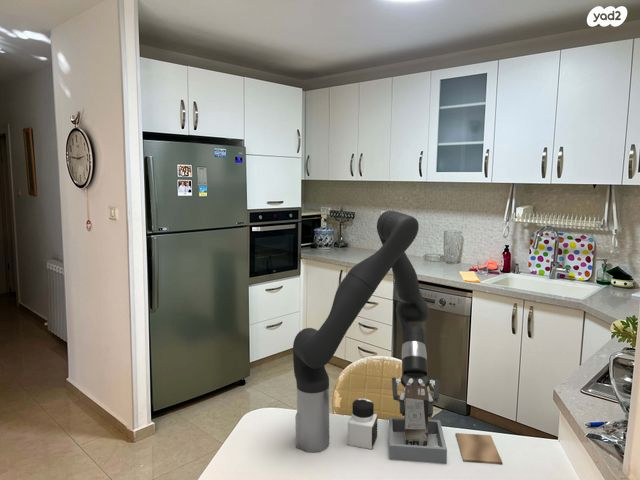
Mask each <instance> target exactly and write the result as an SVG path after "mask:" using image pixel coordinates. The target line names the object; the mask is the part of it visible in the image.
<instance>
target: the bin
mask: <svg viewBox="0 0 640 480" xmlns="http://www.w3.org/2000/svg"><path fill="white" fill-rule="evenodd" d="M394 433H405V417H395V416H394V417H393V416H392V417H391V416H389V417H388V452H389V454H388V455H389V456H388V457H389V460H390V461H392V460H393V461H404V462H405V461H406V462H418V463H419V462H421V463H431V464H433V463H434V464H445V465H446V464H448V448H447V444H446V439H445V436H444V431H443V426H442V423H441V420H440V419H428V435H435V436H436V438H437V443H438V446H429V445H427V446H418V445H405V443H404V444H402V443H401V444H400V443H394Z"/></svg>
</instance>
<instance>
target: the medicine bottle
mask: <svg viewBox="0 0 640 480" xmlns="http://www.w3.org/2000/svg"><path fill="white" fill-rule="evenodd" d="M374 406H375V405H374V402H373V401H372V400H370V399H367V398H357V399H355V400H354V401H353V402H352V407H351V408H352V409H351V411H352V414H351V416H350V418H349V420H348V422H347V445H348V446H351V447H355V448H356V447H358V448H361V449H368V450H373V449H374V446H375V443H376V440H377V438H378V414H377V413H374V411H375V409H374Z"/></svg>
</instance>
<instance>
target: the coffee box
mask: <svg viewBox="0 0 640 480" xmlns="http://www.w3.org/2000/svg"><path fill="white" fill-rule="evenodd" d="M428 391H429V387H427V386H421V385H406V386H405V400H404V401H405V416H404V418H405V432H404V445H418V446H428V441H429V440H428V439H429V438H428V437H429V434H428V420H429V417H428V408H429V396H428Z"/></svg>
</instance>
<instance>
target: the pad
mask: <svg viewBox="0 0 640 480" xmlns="http://www.w3.org/2000/svg"><path fill="white" fill-rule="evenodd" d="M455 438H456V441H457V444H458V448H459V452H460V455H461V459H462V462H464V463H476V464H478V463H479V464H490V465H491V464H492V465H503V461H502V458H501V456H500V453H499V451H498V448H497V447H496V446H497V445H496V444H495V441H494V439H493V437H492V435H491V434H479V433H477V434H476V433H475V434H474V433H463V432H462V433H459V432H455Z"/></svg>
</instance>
